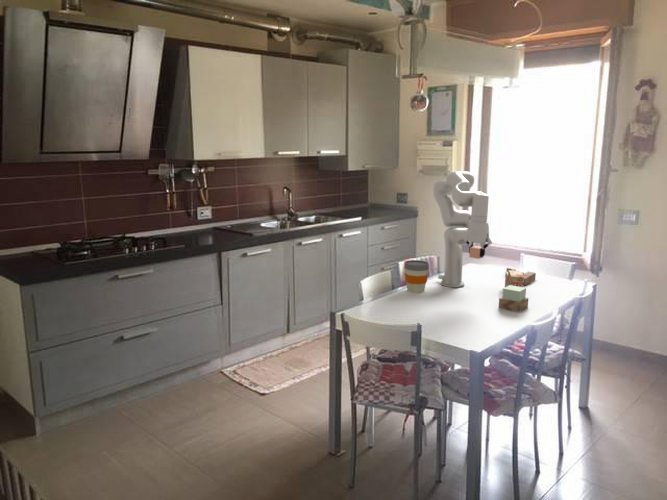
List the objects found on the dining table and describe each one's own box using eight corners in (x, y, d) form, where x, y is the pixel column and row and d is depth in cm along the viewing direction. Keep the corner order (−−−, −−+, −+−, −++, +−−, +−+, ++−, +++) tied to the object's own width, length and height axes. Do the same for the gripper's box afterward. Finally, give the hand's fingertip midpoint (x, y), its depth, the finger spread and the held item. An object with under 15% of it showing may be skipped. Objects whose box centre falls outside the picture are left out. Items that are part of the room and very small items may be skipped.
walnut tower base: (498, 308, 259) (499, 298, 258) (507, 303, 266) (508, 294, 265) (518, 313, 252) (519, 302, 251) (527, 308, 260) (528, 298, 259)
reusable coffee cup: (418, 286, 295) (420, 259, 292) (432, 292, 284) (433, 264, 281) (399, 289, 290) (400, 261, 287) (412, 295, 279) (413, 266, 275)
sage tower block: (502, 298, 257) (503, 288, 256) (508, 295, 263) (509, 285, 262) (519, 301, 252) (520, 291, 251) (525, 298, 259) (526, 287, 258)
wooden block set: (536, 270, 310) (525, 276, 296) (535, 280, 311) (525, 287, 297) (507, 266, 320) (495, 271, 306) (506, 275, 321) (494, 281, 307)
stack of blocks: (504, 288, 293) (505, 266, 290) (516, 288, 292) (518, 266, 289) (509, 299, 272) (511, 275, 270) (522, 300, 271) (524, 276, 269)
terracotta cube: (469, 257, 268) (470, 247, 267) (474, 255, 272) (474, 245, 271) (478, 258, 265) (479, 248, 264) (483, 257, 268) (484, 247, 267)
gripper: (459, 218, 267) (457, 254, 271) (491, 222, 256) (489, 259, 260) (466, 216, 272) (464, 251, 276) (499, 220, 261) (496, 257, 265)
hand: (476, 255), depth 268 cm, fingers closed on terracotta cube, 5 cm apart
